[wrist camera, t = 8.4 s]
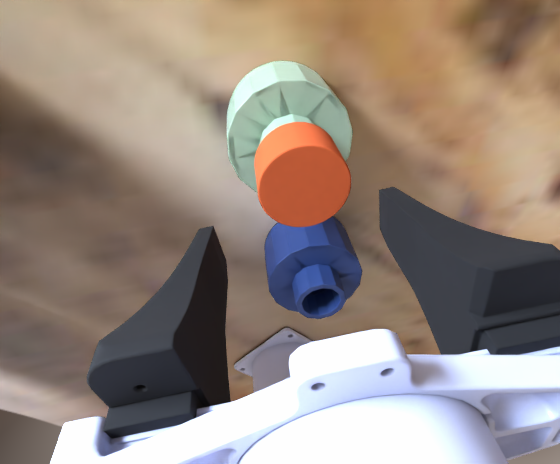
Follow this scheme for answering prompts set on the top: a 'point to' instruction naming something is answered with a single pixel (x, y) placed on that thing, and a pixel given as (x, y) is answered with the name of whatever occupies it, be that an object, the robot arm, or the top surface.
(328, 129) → the green ribbed hub
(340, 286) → the blue ribbed hub
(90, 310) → the top surface
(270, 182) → the bung
